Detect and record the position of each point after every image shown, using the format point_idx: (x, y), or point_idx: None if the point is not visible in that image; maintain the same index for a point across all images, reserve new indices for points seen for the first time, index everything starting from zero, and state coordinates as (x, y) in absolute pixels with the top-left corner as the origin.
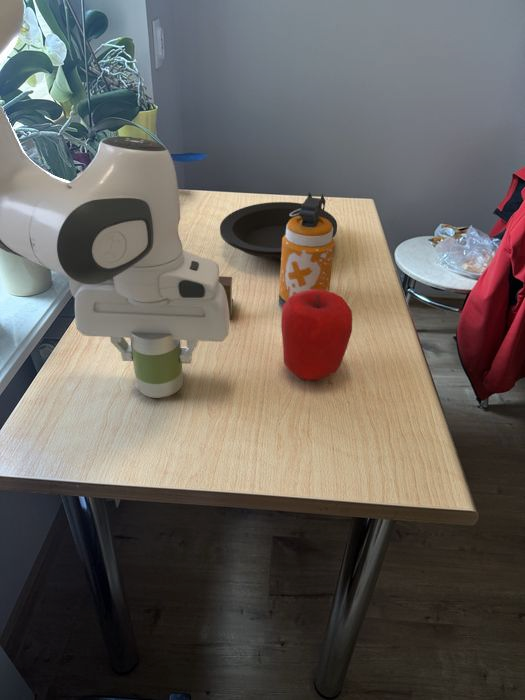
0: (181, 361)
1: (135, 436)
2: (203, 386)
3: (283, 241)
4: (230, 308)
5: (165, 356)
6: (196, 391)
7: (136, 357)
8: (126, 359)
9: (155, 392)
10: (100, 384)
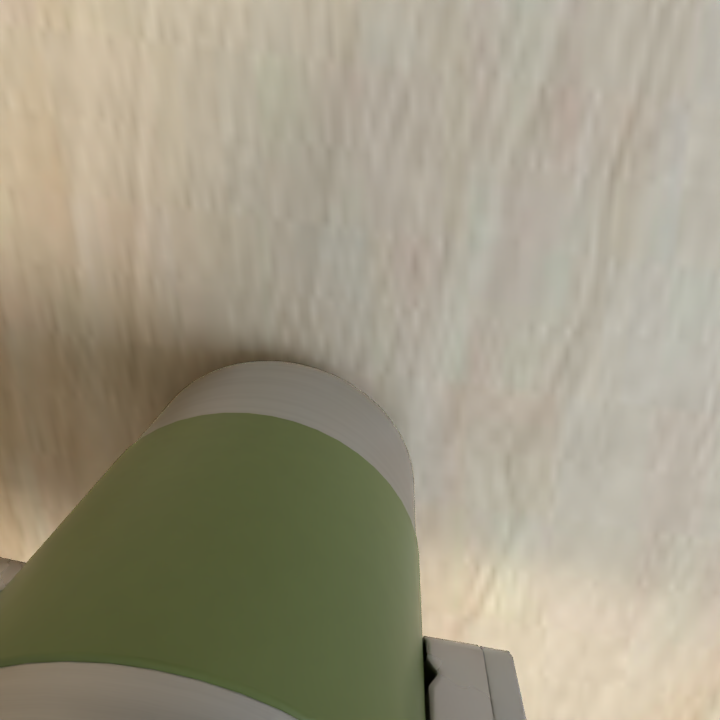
0: (6, 575)
1: (420, 18)
2: (51, 436)
3: None
4: None
5: (7, 627)
6: (81, 402)
7: (371, 663)
8: (478, 659)
9: (285, 380)
10: (619, 523)
